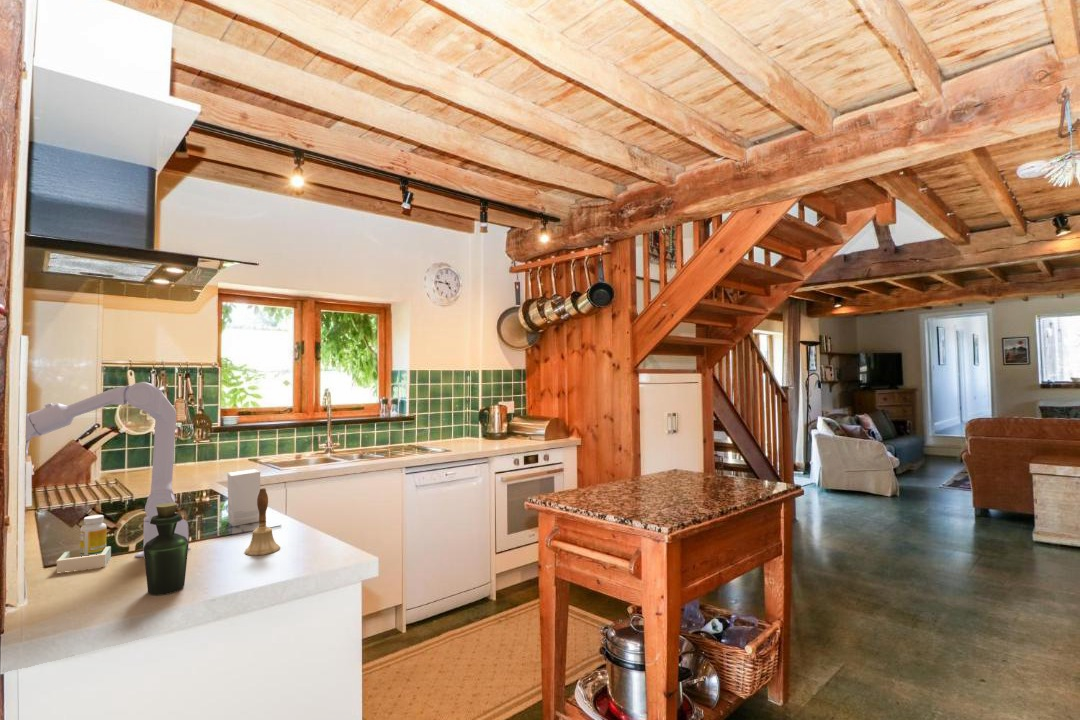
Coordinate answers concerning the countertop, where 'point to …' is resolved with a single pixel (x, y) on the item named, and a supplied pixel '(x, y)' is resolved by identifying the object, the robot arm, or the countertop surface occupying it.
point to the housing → (83, 561)
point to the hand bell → (262, 530)
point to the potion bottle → (166, 553)
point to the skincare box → (243, 497)
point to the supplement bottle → (93, 535)
